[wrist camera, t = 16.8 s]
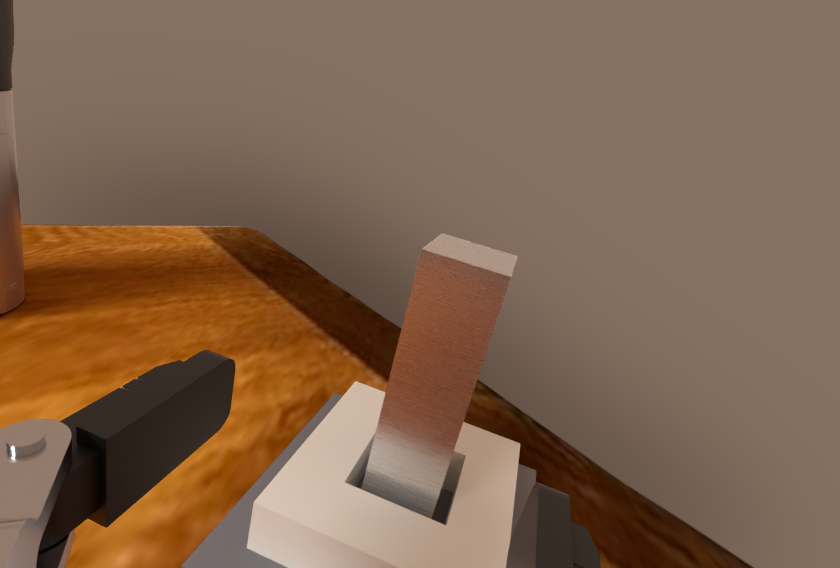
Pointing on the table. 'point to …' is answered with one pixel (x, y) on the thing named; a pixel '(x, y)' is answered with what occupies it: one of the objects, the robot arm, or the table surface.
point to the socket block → (370, 503)
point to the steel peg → (436, 369)
